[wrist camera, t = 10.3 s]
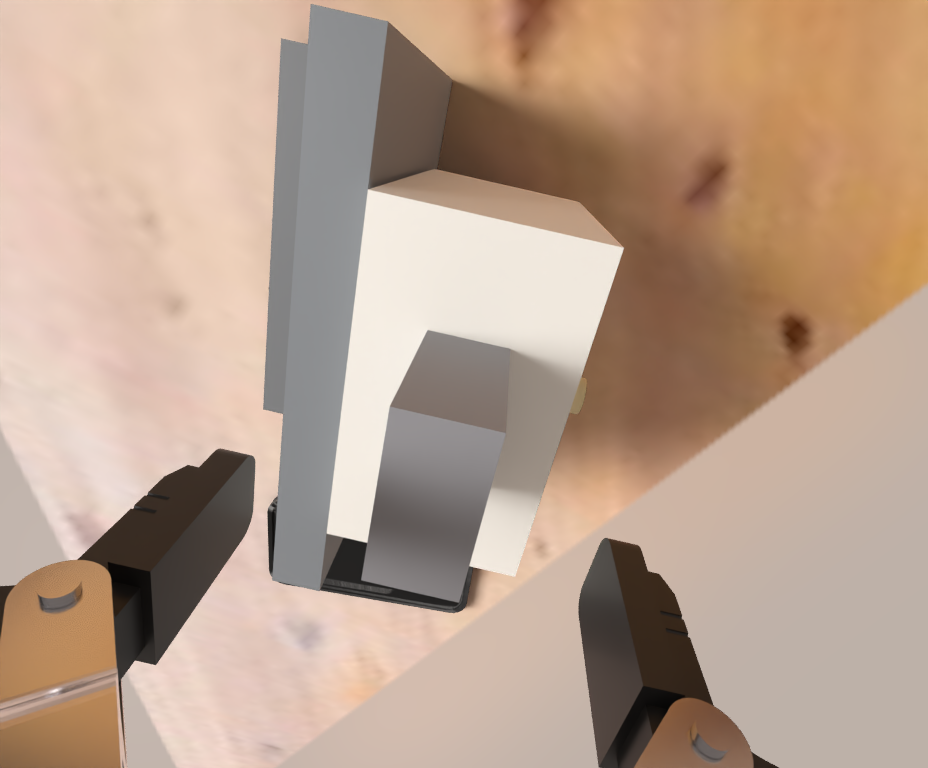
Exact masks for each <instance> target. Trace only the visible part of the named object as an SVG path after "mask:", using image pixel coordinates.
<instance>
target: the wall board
mask: <svg viewBox="0 0 928 768" xmlns="http://www.w3.org/2000/svg"><path fill="white" fill-rule="evenodd" d="M451 86H452V79H451V78H450V77H449V76H448V75H446V74H445V73H444V72H443V71H442V70H441V69H440V68H439V67H438V66H436V65H435V64H434V63H433V62H432V61H431V60H430V59H429V58H428V57H427V56H425V55H424V54H423V53H422V52H421V51H420V50H419V49H418V48H417V47H416V46H414V45H413V44H412V43H411V42H410V41H409V40H408V39H407V38H406V37H404V36H403V35H402V34H401V33H400V32H399V31H398V30H397V29H396V28H395V27H393V26H392V25H391V24H390V23H389V22H388V21H383V20H379V19H374V18H370V17H366V16H361V15H357V14H353V13H348V12H344V11H339V10H335V9H331V8H326V7H322V6H317V5H313V4H311V8H310V23H309V38H308V44H303V43H299V42H295V41H290V40H286V39H281V53H280V74H279V95H278V115H277V136H276V157H275V178H274V198H273V219H272V240H271V260H270V281H269V302H268V323H267V343H266V364H265V385H264V405H263V409H264V410H269V411H273V412H277V413H282V414H283V426H282V441H281V456H280V471H279V486H278V501H277V516H276V531H275V546H274V561H273V575H272V580H273V581H278V582H282V583H286V584H291V585H295V586H299V587H304V588H308V589H312V590H317V591H320V589H321V587H322V585H323V582H324V580H325V578H326V576H327V573H328V571H329V569H330V567H331V564H332V562H333V560H334V558H335V555H336V553H337V551H338V549H339V547H340V544H341V542H342V540H343V538H344V537H340V536H335V535H331V534H327V526H328V518H329V509H330V501H331V493H332V484H333V476H334V468H335V459H336V451H337V443H338V434H339V426H340V418H341V409H342V401H343V393H344V384H345V376H346V368H347V359H348V351H349V343H350V334H351V326H352V318H353V309H354V301H355V293H356V284H357V276H358V268H359V259H360V251H361V243H362V234H363V226H364V218H365V209H366V201H367V193H368V189H371V188H374V187H377V186H381V185H384V184H387V183H390V182H393V181H397V180H400V179H403V178H406V177H409V176H413V175H416V174H419V173H422V172H425V171H429V170H432V169H437V168H438V162H439V156H440V150H441V144H442V139H443V133H444V127H445V121H446V115H447V109H448V103H449V98H450V92H451Z"/></svg>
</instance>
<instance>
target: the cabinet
mask: <svg viewBox="0 0 928 768" xmlns="http://www.w3.org/2000/svg"><path fill="white" fill-rule="evenodd" d="M623 250H624V247H623V246H622V245H621V244H620V243H619V242H618V241H617V240H616V239H615V238H614V237H613V236H612V235H611V234H610V233H609V232H608V231H607V230H606V229H605V228H604V227H603V226H602V225H601V224H600V223H599V222H598V221H597V220H596V219H595V218H594V217H593V216H592V215H591V213H590V212H589V211H588V210H587V209H586V208H585V207H584V206H583V205H582V204H581V203H580V202H578V201H573V200H569V199H565V198H560V197H556V196H551V195H547V194H543V193H538V192H534V191H529V190H525V189H521V188H516V187H512V186H508V185H503V184H499V183H494V182H490V181H486V180H481V179H477V178H472V177H468V176H464V175H459V174H455V173H450V172H446V171H442V170H437V169H432V170H429V171H425V172H422V173H419V174H416V175H413V176H409V177H406V178H403V179H400V180H397V181H393V182H390V183H387V184H384V185H381V186H377V187H374V188H371V189H368V193H367V201H366V209H365V218H364V226H363V234H362V243H361V251H360V259H359V268H358V276H357V284H356V293H355V301H354V309H353V318H352V326H351V334H350V343H349V351H348V359H347V368H346V376H345V384H344V393H343V401H342V409H341V418H340V426H339V434H338V443H337V451H336V459H335V468H334V476H333V484H332V493H331V501H330V509H329V518H328V526H327V534H331V535H335V536H340V537H344V538H348V539H353V540H357V541H362V542H366V543H367V548H366V554H365V560H364V566H363V572H362V578H361V580H362V581H367V582H371V583H375V584H380V585H384V586H388V587H393V588H397V589H401V590H406V591H410V592H414V593H419V594H423V595H428V596H432V597H436V598H441V599H445V600H449V601H454V602H458V603H459V601H460V597H461V594H462V590H463V587H464V583H465V579H466V576H467V572H468V569H469V566H470V567H475V568H479V569H483V570H488V571H492V572H497V573H501V574H505V575H510V576H514V577H515V575H516V572H517V569H518V566H519V563H520V560H521V557H522V554H523V551H524V548H525V545H526V542H527V539H528V536H529V533H530V530H531V527H532V524H533V521H534V518H535V515H536V512H537V509H538V506H539V503H540V500H541V497H542V494H543V491H544V488H545V485H546V482H547V479H548V476H549V473H550V470H551V467H552V464H553V461H554V458H555V455H556V452H557V449H558V446H559V443H560V440H561V437H562V434H563V431H564V428H565V425H566V422H567V419H568V416H569V413H573V414H578V413H579V412H580V410H581V408H582V406H583V403H584V399H585V395H586V389H587V380H586V378H583V377H581V376H582V373H583V370H584V367H585V364H586V361H587V358H588V355H589V352H590V349H591V346H592V343H593V340H594V337H595V334H596V331H597V328H598V325H599V322H600V319H601V316H602V313H603V310H604V307H605V304H606V301H607V298H608V295H609V292H610V289H611V286H612V283H613V280H614V277H615V274H616V271H617V268H618V265H619V262H620V259H621V256H622V253H623Z"/></svg>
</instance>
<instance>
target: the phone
mask: <svg viewBox="0 0 928 768" xmlns="http://www.w3.org/2000/svg"><path fill="white" fill-rule="evenodd" d="M277 501H278V497H276V498H275V499H274V500H273V502H272V503H271V505H270V506H269V508H268V512H267V513H268V546H269V571H270V574H271V576H272V575H273V561H274V546H275V531H276V516H277ZM366 548H367V543H366V542H362V541H357V540H353V539H348V538H343V540H342V542H341V544H340V547H339V549H338V551H337V553H336V555H335V558H334V560H333V562H332V564H331V567H330V569H329V571H328V573H327V576H326V578H325V580H324V582H323V585H322V587H321V589H320V590H321V591H327V592H333V593H339V594H345V595H350V596H356V597H362V598H368V599H373V600H379V601H385V602H391V603H397V604H402V605H408V606H414V607H420V608H425V609H431V610H437V611H443V612H448V613H456V612H460V611H462V610H463V609H464V608H465V606H466V604H467V598H468V593H469V587H470V582H471V576H472V571H473V567H470V566H469V569H468V572H467V576H466V579H465V583H464V587H463V590H462V594H461V597H460V601H459V603H458V602H454V601H449V600H445V599H441V598H436V597H432V596H428V595H423V594H419V593H414V592H410V591H406V590H401V589H397V588H393V587H388V586H384V585H380V584H375V583H371V582H367V581H362V580H361V578H362V572H363V566H364V560H365V554H366ZM279 583H282V582H279ZM282 584H286V583H282ZM286 585H291V584H286ZM292 586H295V585H292ZM298 587H299V586H298Z"/></svg>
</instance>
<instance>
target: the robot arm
mask: <svg viewBox="0 0 928 768" xmlns="http://www.w3.org/2000/svg"><path fill="white" fill-rule="evenodd" d="M254 481H255V459H254V457H253V456H251V455H246V454H242V453H238V452H233V451H229V450H225V449H217V450H216V451H215V452H214V453H213V454H212V455H211V456H210V457H209V458H208V459H207V460H206V461H205V462H204V463H203V464H202V465H201V466H200V467H199V468H198V467H194V466H190V465H187V466H185V467H183V468H181V469H179V470H177V471H175V472H173V473H171V474H169V475H167V476H165V477H164V478H163V479H162V480H160V481H159V482H158V483H157V484H156V485H155V486H154V487H153V488H152V489H151V490H150V491H149V492H148V495H147V496H144V497H143V498H142V499H141V500H140V501H139V502H137V503H136V504H135V505H134V508H133V509H130V510H129V511H128V512H127V513H126V514H125V515H124V516H123V517H122V518H121V519H120V520H119V521H118V522H117V523H115V524H114V525H113V526H112V527H111V528H110V529H109V530H108V531H107V532H106V533H105V534H104V535H103V536H102V537H101V538H100V539H99V540H98V541H97V542H96V543H95V544H93V545H92V546H91V547H90V548H89V549H88V550H87V551H86V552H85V553H84V554H83V555H82V556H81V557H80V558H79V559H78V560H69V561H63V562H59V563H55V564H51V565H48V566H46V567H43V568H41V569H39V570H37V571H35V572H33V573H31V574H30V575H28V576H26V577H25V578H24V579H22V580H21V581H20V582H19V583H18V584H17V585H15V586H0V768H127V755H126V754H127V753H126V738H125V724H124V708H123V693H122V680H121V679H122V677H123V676H124V675H125V673H126V672H127V670H128V669H129V668H130V666H131V665H132V664H133V662H134V661H135V660H136V661H140V662H145V663H149V664H154V665H156V664H157V663H158V661H159V660H160V658H161V657H162V655H163V654H164V653H165V651H166V650H167V648H168V647H169V645H170V644H171V642H172V641H173V639H174V638H175V637H176V635H177V634H178V632H179V631H180V629H181V628H182V626H183V625H184V623H185V622H186V621H187V619H188V618H189V616H190V615H191V613H192V612H193V610H194V609H195V607H196V606H197V605H198V603H199V602H200V600H201V599H202V597H203V596H204V594H205V593H206V591H207V590H208V589H209V587H210V586H211V584H212V583H213V581H214V580H215V578H216V577H217V575H218V574H219V573H220V571H221V570H222V568H223V567H224V565H225V564H226V562H227V561H228V559H229V558H230V557H231V555H232V554H233V552H234V551H235V549H236V548H237V546H238V545H239V543H240V542H241V541H242V539H243V537H244V536H245V534H246V532H247V530H248V527H249V525H250V522H251V518H252V513H253V501H254ZM579 621H580V628H581V636H582V644H583V651H584V659H585V666H586V674H587V682H588V688H589V697H590V704H591V712H592V719H593V727H594V734H595V742H596V750H597V757H598V764H599V767H600V768H778V767H777V766H775V765H773V764H771V763H769V762H767V761H765V760H764V759H762V758H760V757H758V756H757V755H755V754H754V753H752V752H751V749H750V746H749V744H748V742H747V740H746V738H745V737H744V735H743V733H742V732H741V730H740V729H739V728H738V727H737V725H736V724H735V723H734V722H733V721H732V720H731V719H730V718H729V717H728V716H727V715H725V714H724V713H723V712H722V711H721V710H719V709H718V708H716V707H714V705H713V703H712V700H711V697H710V694H709V692H708V688H707V685H706V683H705V680H704V677H703V674H702V671H701V668H700V665H699V663H698V660H697V657H696V654H695V651H694V648H693V645H692V643H691V640H690V638H689V637H688V631H687V628H686V625H685V622H684V620H682V614H681V611H680V608H679V605H678V602H677V600H676V597H675V594H674V593H673V592H672V590H671V589H670V588H669V586H668V585H667V584H666V582H665V581H664V580H663V579H662V577H661V576H660V575H659V574H657V573H652V572H648V570H647V567H646V564H645V560H644V557H643V554H642V551H641V548H640V547H639V546H638V545H635V544H630V543H626V542H621V541H617V540H613V539H608V538H604V539H603V540H602V542H601V543H600V545H599V548H598V550H597V553H596V555H595V558H594V560H593V562H592V565H591V567H590V569H589V572H588V574H587V577H586V579H585V581H584V584H583V586H582V589H581V593H580V599H579Z"/></svg>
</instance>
